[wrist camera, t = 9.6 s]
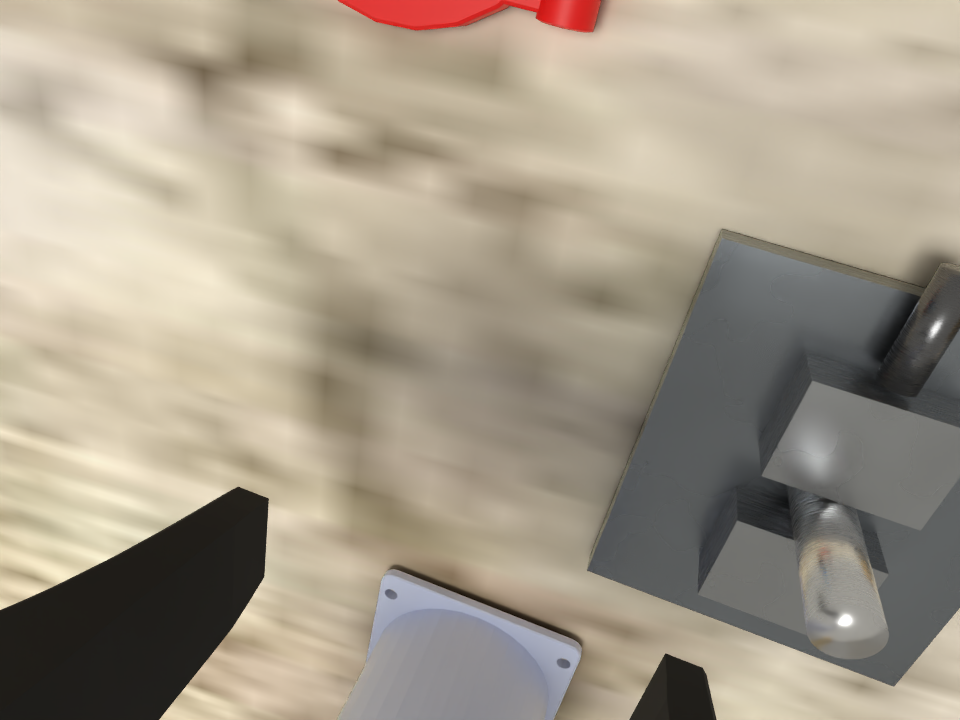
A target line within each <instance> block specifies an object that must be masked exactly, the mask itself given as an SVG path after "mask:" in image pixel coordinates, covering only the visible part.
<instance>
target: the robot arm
mask: <svg viewBox="0 0 960 720" xmlns="http://www.w3.org/2000/svg"><path fill="white" fill-rule="evenodd" d="M268 501H269V499H268V498H266V497H263V496H261V495H258V494H255V493H253V492H250V491H248V490H245V489H243V488H240V487H237V488H235V489H233V490H231V491H229V492H227V493H226V494H224V495H222V496H220V497H219V498H217V499H215V500H214V501H212V502H210V503H208V504H207V505H205V506H203V507H202V508H200V509H198V510H197V511H195V512H193V513H191V514H190V515H188V516H186V517H184V518H183V519H181V520H179V521H178V522H176V523H174V524H172V525H171V526H169V527H167V528H165V529H164V530H162V531H160V532H158V533H156V534H155V535H153V536H151V537H149V538H147V539H145V540H144V541H142V542H140V543H138V544H136V545H134V546H133V547H131V548H129V549H127V550H125V551H123V552H122V553H120V554H118V555H116V556H114V557H112V558H110V559H108V560H107V561H104V562H102V563H100V564H98V565H96V566H94V567H92V568H90V569H88V570H86V571H84V572H82V573H80V574H78V575H76V576H74V577H72V578H70V579H68V580H66V581H64V582H62V583H60V584H58V585H56V586H54V587H52V588H50V589H47V590H45V591H43V592H41V593H39V594H36V595H34V596H32V597H30V598H27V599H25V600H23V601H21V602H18V603H16V604H14V605H11V606H9V607H7V608H4V609H2V610H0V720H159V719H160V718H161V717H162V715H163V714H164V713H165V712H166V710H167V709H168V708H169V707H170V705H171V704H172V703H173V702H174V700H175V699H176V698H177V697H178V695H179V694H180V693H181V692H182V690H183V689H184V688H185V687H186V685H187V684H188V683H189V682H190V680H191V679H192V678H193V677H194V675H195V674H196V673H197V672H198V670H199V669H200V668H201V667H202V666H203V664H204V663H205V662H206V660H207V659H208V658H209V657H210V655H211V654H212V653H213V652H214V650H215V649H216V648H217V647H218V645H219V644H220V643H221V642H222V640H223V639H224V638H225V636H226V635H227V634H228V633H229V631H230V630H231V629H232V627H233V626H234V624H235V623H236V621H237V620H238V618H239V617H240V615H241V613H242V612H243V610H244V609H245V607H246V606H247V604H248V603H249V601H250V599H251V598H252V596H253V594H254V593H255V591H256V589H257V588H258V586H259V585H260V583H261V581H262V580H263V578H264V572H265V554H266V537H267V519H268ZM394 591H395V592H394ZM581 653H582V648H581V645H580V644H579V643H578V642H577V641H575V640H573V639H571V638H569V637H566V636H564V635H561V634H558V633H556V632H553V631H551V630H548V629H546V628H543V627H541V626H538V625H536V624H533V623H531V622H528V621H526V620H523V619H520V618H518V617H515V616H513V615H510V614H508V613H505V612H503V611H500V610H498V609H495V608H493V607H490V606H488V605H485V604H483V603H480V602H477V601H475V600H472V599H470V598H467V597H465V596H462V595H460V594H457V593H455V592H452V591H450V590H447V589H445V588H442V587H440V586H437V585H434V584H432V583H429V582H427V581H424V580H422V579H419V578H417V577H414V576H412V575H409V574H407V573H404V572H402V571H399V570H395V569H390V570H388V571H386V573H385V574H384V576H383V578H382V580H381V585H380V590H379V596H378V601H377V606H376V611H375V617H374V622H373V627H372V633H371V638H370V643H369V648H368V654H367V659H366V664H365V667H364V669H363V670H362V672H361V674H360V676H359V678H358V680H357V682H356V684H355V686H354V688H353V689H352V691H351V693H350V695H349V697H348V699H347V701H346V703H345V705H344V707H343V708H342V710H341V712H340V714H339V716H338V718H337V720H554V718H555V715H556V713H557V711H558V709H559V706H560V704H561V702H562V700H563V697H564V695H565V693H566V690H567V688H568V686H569V684H570V681H571V679H572V677H573V675H574V672H575V670H576V668H577V665H578V663H579V661H580V658H581ZM562 658H563V659H562ZM564 659H566V660H564ZM630 720H716V716H715V711H714V707H713V703H712V698H711V694H710V689H709V685H708V680H707V675H706V673H705V671H704V670H703V668H701V667H699V666H696V665H694V664H691V663H689V662H686V661H683V660H681V659H678V658H676V657H673V656H671V655H668V654H665V655H664V657H663V659H662V661H661V662H660V664H659V666H658V668H657V670H656V672H655V674H654V675H653V677H652V679H651V681H650V683H649V685H648V686H647V688H646V690H645V692H644V694H643V696H642V698H641V699H640V701H639V703H638V705H637V707H636V709H635V710H634V712H633V714H632V716H631V718H630Z"/></svg>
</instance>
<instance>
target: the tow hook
mask: <svg viewBox="0 0 960 720" xmlns="http://www.w3.org/2000/svg"><path fill="white" fill-rule="evenodd" d="M338 1H339V2H341V3H343V4H345V5H346V6H348V7H350V8H352V9H354V10H355V11H357V12H359V13H361V14H363V15H365V16H366V17H368V18H370V19H372V20H374V21H375V22H379V23H384V24H388V25H393V26H398V27H403V28H407V29H412V30H429V29H438V28H448V27H457V26H467V25H469V24H471V23H474V22H476V21H478V20H481V19H483V18H485V17H487V16H490V15H492V14H494V13H497V12H499V11H501V10H504V9H506V8H507V7H509V6H513V7H517V8H521V9H525V10H529V11H533V12H537V14H536V19H538V20H539V21H541V22H543V23H546V24H549V25H552V26H556V27H560V28H564V29H569V30H573V31H579V32H593V31H594V27H595V23H596V19H597V15H598V11H599V8H600V4H601V0H338Z"/></svg>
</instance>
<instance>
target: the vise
mask: <svg viewBox="0 0 960 720" xmlns="http://www.w3.org/2000/svg"><path fill="white" fill-rule="evenodd" d="M587 571H590V572H592V573H595V574H598V575H600V576H603V577H606V578H608V579H611V580H614V581H616V582H619V583H622V584H624V585H627V586H629V587H632V588H635V589H637V590H640V591H643V592H645V593H648V594H651V595H653V596H656V597H659V598H661V599H664V600H666V601H669V602H672V603H674V604H677V605H680V606H682V607H685V608H688V609H690V610H693V611H696V612H698V613H701V614H703V615H706V616H709V617H711V618H714V619H717V620H719V621H722V622H725V623H727V624H730V625H733V626H735V627H738V628H740V629H743V630H746V631H748V632H751V633H754V634H756V635H759V636H762V637H764V638H767V639H770V640H772V641H775V642H777V643H780V644H783V645H785V646H788V647H791V648H793V649H796V650H799V651H801V652H804V653H807V654H809V655H812V656H814V657H817V658H820V659H822V660H825V661H828V662H830V663H833V664H836V665H838V666H841V667H844V668H846V669H849V670H852V671H854V672H857V673H859V674H862V675H865V676H867V677H870V678H873V679H875V680H878V681H881V682H883V683H886V684H889V685H891V686H895V685H896V684H897V682H898V681H899V680H900V679H901V678H902V676H903V675H904V674H905V673H906V672H907V670H908V669H909V668H910V667H911V666H912V664H913V663H914V662H915V661H916V660H917V659H918V657H919V656H920V655H921V654H922V653H923V651H924V650H925V649H926V648H927V647H928V645H929V644H930V643H931V642H932V641H933V639H934V638H935V637H936V636H937V635H938V633H939V632H940V631H941V630H942V629H943V627H944V626H945V625H946V624H947V623H948V621H949V620H950V619H951V618H952V617H953V615H954V614H955V613H956V612H957V611H958V609H959V608H960V266H958V265H955V264H950V263H941V264H940V266H939V267H938V269H937V271H936V273H935V274H934V276H933V278H932V279H931V281H930V283H929V284H928V286H927V288H923V287H919V286H916V285H913V284H909V283H906V282H902V281H899V280H895V279H892V278H889V277H885V276H882V275H878V274H875V273H871V272H868V271H864V270H861V269H858V268H854V267H851V266H847V265H844V264H840V263H837V262H834V261H830V260H827V259H823V258H820V257H816V256H813V255H810V254H806V253H803V252H799V251H796V250H792V249H789V248H785V247H782V246H779V245H775V244H772V243H768V242H765V241H761V240H758V239H755V238H751V237H748V236H744V235H741V234H737V233H734V232H731V231H727V230H724V229H722V230H721V232H720V235H719V237H718V240H717V242H716V245H715V247H714V250H713V252H712V255H711V257H710V260H709V262H708V265H707V267H706V270H705V272H704V275H703V277H702V280H701V282H700V285H699V287H698V289H697V292H696V294H695V297H694V299H693V302H692V304H691V307H690V309H689V312H688V314H687V317H686V319H685V322H684V324H683V327H682V329H681V332H680V334H679V337H678V339H677V342H676V344H675V347H674V349H673V351H672V354H671V356H670V359H669V361H668V364H667V366H666V369H665V371H664V374H663V376H662V379H661V381H660V384H659V386H658V389H657V391H656V394H655V396H654V399H653V401H652V404H651V406H650V409H649V411H648V414H647V416H646V418H645V421H644V423H643V426H642V428H641V431H640V433H639V436H638V438H637V441H636V443H635V446H634V448H633V451H632V453H631V456H630V458H629V461H628V463H627V466H626V468H625V471H624V473H623V476H622V478H621V480H620V483H619V485H618V488H617V490H616V493H615V495H614V498H613V500H612V503H611V505H610V508H609V510H608V513H607V515H606V518H605V520H604V523H603V525H602V528H601V530H600V533H599V535H598V538H597V540H596V543H595V545H594V547H593V550H592V552H591V555H590V560H589V564H588V569H587Z"/></svg>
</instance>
